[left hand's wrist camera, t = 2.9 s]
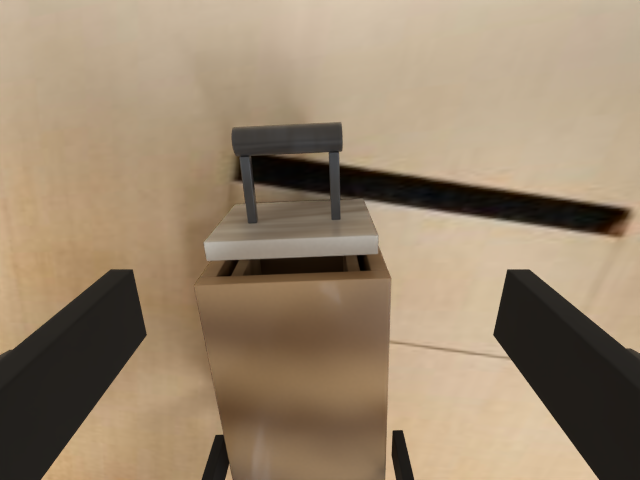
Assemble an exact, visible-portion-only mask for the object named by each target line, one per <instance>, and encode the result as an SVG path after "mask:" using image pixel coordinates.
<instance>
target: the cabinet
mask: <svg viewBox="0 0 640 480" xmlns="http://www.w3.org/2000/svg"><path fill="white" fill-rule="evenodd" d="M357 259H358V264H359V268H360V271H351V272H325V273H300V274H274V275H249V276H231V275H232V273H233V271H234V269H235V267H236V265H237V263H238V261H239V260H220V261H211V262H210V263H209V264H208V266H207V267H206V269H205V270H204V272H203V273H202V275H201V276H200V278H199V279H198V280H197V282H196V283H195V285H194V289H195V294H196V299H197V304H198V309H199V314H200V319H201V324H202V329H203V334H204V339H205V344H206V349H207V354H208V359H209V364H210V369H211V374H212V379H213V384H214V389H215V394H216V399H217V404H218V409H219V414H220V419H221V424H222V429H223V434H224V439H225V444H226V449H227V454H228V459H229V464H230V469H231V474H232V479H233V480H385V465H386V432H387V400H388V367H389V334H390V302H391V276H390V274H389V271H388V269H387V267H386V264H385V261H384V259H383V256H382V254H381V251H380V248H379V246H378V254H369V255H357Z"/></svg>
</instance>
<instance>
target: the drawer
mask: <svg viewBox="0 0 640 480" xmlns="http://www.w3.org/2000/svg"><path fill="white" fill-rule="evenodd" d="M232 146H233V150H234V153H235V155H236V156H240V165H241V173H242V181H243V189H244V196H245V204H235V205H234V206H233V207H232V208H231V210H230V211H229V212H228V213H227V214H226V216H225V217H224V218H223V219H222V221H221V222H220V223H219V224H218V225H217V227H216V228H215V229H214V230H213V232H212V233H211V234H210V235H209V236H208V238H207V239H206V240H205V241H204V248H205V254H206V259H207V261H220V260H239V261H238V263H237V265H236V267H235V269H234V271H233V273H232V275H231V276H249V275H274V274H300V273H325V272H351V271H360V268H359V264H358V259H357V255H369V254H378V234H377V231H376V229H375V226H374V224H373V221H372V219H371V217H370V214H369V212H368V209H367V207H366V204H365V202H364V199H342V200H340V173H339V152H341V151H342V146H343V141H342V123H341V122H334V123H314V124H293V125H272V126H252V127H234V128H233V129H232ZM320 152H329V171H330V198H331V200H319V201H296V202H273V203H256V196H255V188H254V179H253V171H252V162H251V156H255V155H277V154H298V153H320Z"/></svg>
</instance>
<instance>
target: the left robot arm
mask: <svg viewBox="0 0 640 480" xmlns="http://www.w3.org/2000/svg"><path fill="white" fill-rule="evenodd" d="M146 335H147V334H146V329H145V325H144V320H143V315H142V311H141V306H140V301H139V297H138V292H137V288H136V283H135V278H134V274H133V270H110V271H108V272H107V273H106V274H105V275H103V276H102V277H101V278H100V279H99V280H97V281H96V282H95V283H94V284H92V285H91V286H90V287H89V288H88V289H86V290H85V291H84V292H83V293H81V294H80V295H79V296H78V297H77V298H75V299H74V300H73V301H72V302H70V303H69V304H68V305H67V306H66V307H64V308H63V309H62V310H61V311H59V312H58V313H57V314H56V315H55V316H53V317H52V318H51V319H50V320H48V321H47V322H46V323H45V324H44V325H42V326H41V327H40V328H39V329H37V330H36V331H35V332H34V333H33V334H31V335H30V336H29V337H28V338H26V339H25V340H24V341H23V342H22V343H20V344H19V345H18V346H17V347H15V348H14V349H13V350H9V351H7V352H5V353H3V354H1V355H0V480H41V479H42V477H43V476H44V475H45V473H46V472H47V471H48V469H49V468H50V466H51V465H52V464H53V462H54V461H55V460H56V458H57V457H58V455H59V454H60V453H61V451H62V450H63V449H64V447H65V446H66V445H67V443H68V442H69V440H70V439H71V438H72V436H73V435H74V434H75V432H76V431H77V430H78V428H79V427H80V425H81V424H82V423H83V421H84V420H85V419H86V417H87V416H88V414H89V413H90V412H91V410H92V409H93V408H94V406H95V405H96V404H97V402H98V401H99V399H100V398H101V397H102V395H103V394H104V393H105V391H106V390H107V389H108V387H109V386H110V384H111V383H112V382H113V380H114V379H115V378H116V376H117V375H118V374H119V372H120V371H121V369H122V368H123V367H124V365H125V364H126V363H127V361H128V360H129V358H130V357H131V356H132V354H133V353H134V352H135V350H136V349H137V348H138V346H139V345H140V343H141V342H142V341H143V339H144V338H145V337H146ZM493 335H494V337H495V338H496V339H497V341H498V342H499V343H500V345H501V346H502V348H503V349H504V350H505V352H506V353H507V354H508V356H509V357H510V358H511V360H512V361H513V363H514V364H515V365H516V367H517V368H518V369H519V371H520V372H521V374H522V375H523V376H524V378H525V379H526V380H527V382H528V383H529V384H530V386H531V387H532V389H533V390H534V391H535V393H536V394H537V395H538V397H539V398H540V399H541V401H542V402H543V404H544V405H545V406H546V408H547V409H548V410H549V412H550V413H551V414H552V416H553V417H554V419H555V420H556V421H557V423H558V424H559V425H560V427H561V428H562V430H563V431H564V432H565V434H566V435H567V436H568V438H569V439H570V440H571V442H572V443H573V445H574V446H575V447H576V449H577V450H578V451H579V453H580V454H581V455H582V457H583V458H584V460H585V461H586V462H587V464H588V465H589V466H590V468H591V469H592V471H593V472H594V473H595V475H596V476H597V477H598V479H599V480H640V353H638V352H636V351H634V350H632V349H626V348H625V347H623V346H622V345H621V344H620V343H618V342H617V341H616V340H615V339H614V338H612V337H611V336H610V335H609V334H607V333H606V332H605V331H604V330H603V329H601V328H600V327H599V326H598V325H596V324H595V323H594V322H593V321H592V320H590V319H589V318H588V317H587V316H585V315H584V314H583V313H582V312H581V311H579V310H578V309H577V308H576V307H574V306H573V305H572V304H571V303H570V302H568V301H567V300H566V299H565V298H563V297H562V296H561V295H560V294H559V293H557V292H556V291H555V290H554V289H552V288H551V287H550V286H549V285H548V284H546V283H545V282H544V281H543V280H541V279H540V278H539V277H538V276H537V275H535V274H534V273H533V272H532V271H530V270H507V274H506V278H505V283H504V288H503V292H502V297H501V301H500V306H499V311H498V315H497V320H496V325H495V329H494V334H493Z"/></svg>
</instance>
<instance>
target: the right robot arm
mask: <svg viewBox="0 0 640 480" xmlns="http://www.w3.org/2000/svg"><path fill="white" fill-rule="evenodd" d="M392 460H393V465H394V470H395V476H396V480H414V477H413V472H412V468H411V464H410V460H409V455H408V451H407V447H406V443H405V438H404V434H403V430H395V431H393V436H392ZM228 466H229V459H228V454H227V449H226V444H225V439H224V435H215V439H214V442H213V445H212V448H211V451H210V455H209V458H208V461H207V464H206V467H205V470H204V474H203V477H202V480H225V478H226V474H227V470H228Z"/></svg>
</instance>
